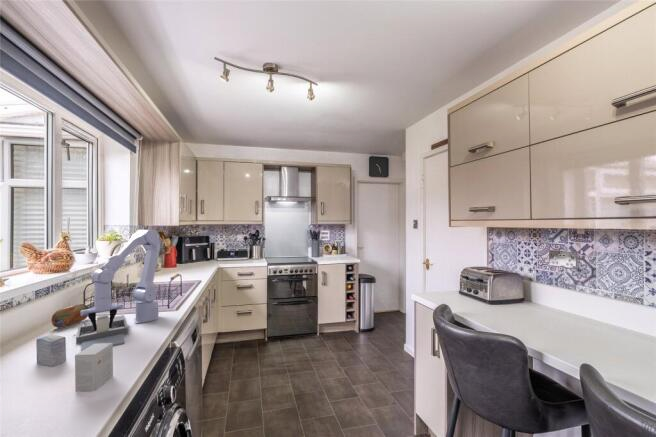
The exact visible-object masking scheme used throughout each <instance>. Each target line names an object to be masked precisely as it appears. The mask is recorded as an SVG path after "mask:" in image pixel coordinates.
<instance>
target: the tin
mask: <svg viewBox="0 0 656 437" xmlns="http://www.w3.org/2000/svg"><path fill="white" fill-rule="evenodd" d="M86 309H89V307H88V306H87V305H86V304H83V303H80V304H75V305H71V306H68V307H65V308H61V309H58V310H56V311H55V312H54V313H53V314H52V316H51V324H52V326H53V327H54V328H61V329H63V328H68V327H70V326H72V325H76V324H80V323H81V322H82V320H85V321H86V319H87V317H88V315H84V316H81V310H86Z"/></svg>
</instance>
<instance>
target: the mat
mask: <svg viewBox="0 0 656 437" xmlns="http://www.w3.org/2000/svg"><path fill="white" fill-rule="evenodd" d="M99 343H113V347H114V346H115V347H116V346H120V345H125V340H124V334H119V335H114V336H109V337H104V338H99V339H94V340H89V341H84V342H82V343H81V347H80V348H81V349H80V352H81V351H83V350H85V349H86V348H88V347H90V346H91V345H93V344H99Z"/></svg>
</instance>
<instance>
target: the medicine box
mask: <svg viewBox="0 0 656 437" xmlns="http://www.w3.org/2000/svg"><path fill="white" fill-rule="evenodd" d="M66 342H67V340H66V336H61V335H56V334H48V335H44V336H41V337H39V338H36V343H35V345H36V364H37V365H42V366H46V367H50V368H53V367H56V366H58V365H60V364H62V363H63V364H64V363H66V361H67V346H66V345H67V343H66Z"/></svg>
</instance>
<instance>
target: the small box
mask: <svg viewBox="0 0 656 437" xmlns="http://www.w3.org/2000/svg"><path fill="white" fill-rule="evenodd" d="M113 349H114V346H113V343H99V344H93V345H91V346H90V347H88V348H86V349H85V350H83V351H81V350H80V351H79V352H78V353H77V354H75V355H74V376H75V378H74V384H75V386H74V387H75V390H74V391H75V392H76V393H77V392H78V391H80V392H94V391H93V390H95V391H97V390H98V389H99V388H100V387H102V386H103V385H104V384H105V383H106V382H108V381H109V380H110V379H112V377H113V376H114V356H113V354H114V350H113Z"/></svg>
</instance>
